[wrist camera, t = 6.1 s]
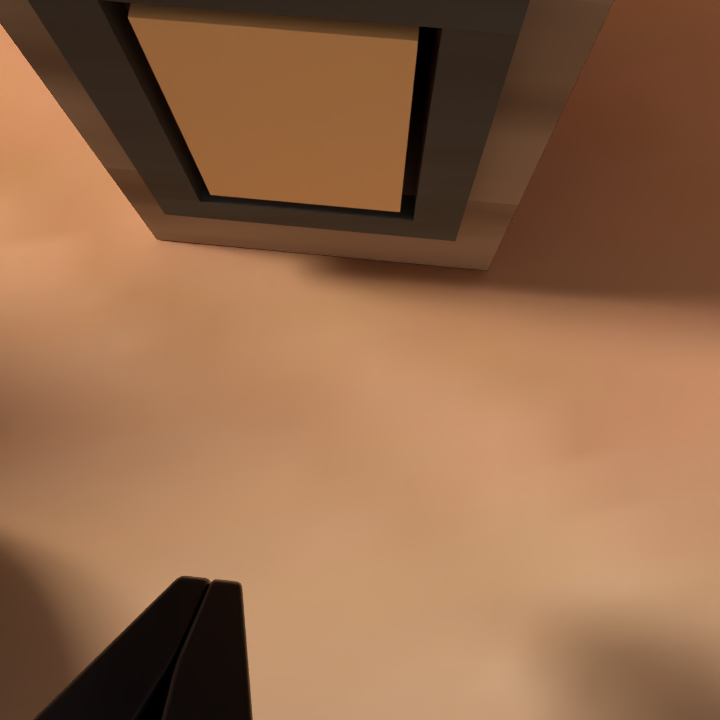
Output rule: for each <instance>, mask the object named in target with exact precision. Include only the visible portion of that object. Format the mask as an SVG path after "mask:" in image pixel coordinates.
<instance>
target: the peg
mask: <svg viewBox="0 0 720 720" xmlns="http://www.w3.org/2000/svg"><path fill="white" fill-rule="evenodd" d="M128 19H129V21H130V23H131V25H132V28H133V30H134V32H135V34H136V36H137V38H138V40H139V43H140V45H141V47H142V49H143V51H144V53H145V55H146V58H147V60H148V62H149V64H150V66H151V68H152V70H153V73H154V75H155V77H156V79H157V81H158V83H159V85H160V88H161V90H162V92H163V94H164V96H165V98H166V100H167V103H168V105H169V107H170V109H171V111H172V113H173V115H174V118H175V120H176V122H177V124H178V126H179V128H180V130H181V133H182V135H183V137H184V139H185V141H186V143H187V145H188V148H189V150H190V152H191V154H192V156H193V158H194V161H195V163H196V165H197V167H198V169H199V171H200V173H201V176H202V178H203V180H204V182H205V184H206V186H207V188H208V191H209V193H210V195H218V196H228V197H239V198H250V199H261V200H272V201H283V202H294V203H305V204H316V205H327V206H338V207H349V208H360V209H370V210H381V211H392V212H400V207H401V197H402V188H403V179H404V169H405V160H406V150H407V141H408V131H409V122H410V113H411V103H412V94H413V84H414V75H415V65H416V56H417V47H418V37H419V27H420V26H408V25H396V24H384V23H371V22H359V21H347V20H335V19H322V18H310V17H298V16H286V15H273V14H261V13H249V12H237V11H224V10H212V9H200V8H188V7H175V6H163V5H151V4H139V3H131V4H130V9H129V13H128Z"/></svg>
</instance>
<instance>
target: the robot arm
mask: <svg viewBox="0 0 720 720" xmlns="http://www.w3.org/2000/svg"><path fill="white" fill-rule="evenodd" d="M33 720H253V718H252V705H251V693H250V680H249V667H248V655H247V642H246V630H245V617H244V605H243V592H242V585H241V583H239V582H236V581H227V580H218V579H216V580H213V581H212V582H210V580H209V579H206V578H201V577H192V576H181V577H179V578H177V579H176V580H175V581H174V582H173V583H172V584H171V585H170V586H169V587H168V588H167V589H166V590H165V591H164V592H163V593H162V594H161V595H160V596H159V597H158V598H157V599H156V600H155V601H154V602H153V603H151V604H150V605H149V606H148V607H147V608H146V609H145V610H144V611H143V612H142V613H141V614H140V615H139V616H138V617H137V618H136V619H135V620H134V621H133V622H132V623H131V624H130V625H129V626H128V627H127V628H126V629H125V630H124V631H123V632H122V633H121V634H120V635H119V636H118V637H117V638H116V639H115V640H114V641H113V642H112V643H111V644H110V645H109V646H108V647H107V648H106V649H105V650H104V651H103V652H102V653H101V654H100V655H99V656H97V657H96V658H95V659H94V660H93V661H92V662H91V663H90V664H89V665H88V666H87V667H86V668H85V669H84V670H83V671H82V672H81V673H80V674H79V675H78V676H77V677H76V678H75V679H74V680H73V681H72V682H71V683H70V684H69V685H68V686H67V687H66V688H65V689H64V690H63V691H62V692H61V693H60V694H59V695H58V696H57V697H56V698H55V699H54V700H53V701H52V702H51V703H50V704H49V705H48V706H47V707H46V708H45V709H43V710H42V711H41V712H40V713H39V714H38V715H37V716H36V717H35V718H34V719H33Z"/></svg>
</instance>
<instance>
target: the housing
mask: <svg viewBox="0 0 720 720" xmlns="http://www.w3.org/2000/svg"><path fill="white" fill-rule="evenodd" d="M613 2H614V0H0V23H1V25H2V26H3V27H4V29H5V30H6V32H7V33H8V34H9V36H10V37H11V39H12V40H13V41H14V43H15V44H16V45H17V47H18V48H19V50H20V51H21V52H22V54H23V55H24V57H25V58H26V59H27V61H28V62H29V63H30V65H31V66H32V68H33V69H34V70H35V72H36V73H37V74H38V76H39V77H40V79H41V80H42V81H43V83H44V84H45V86H46V87H47V88H48V90H49V91H50V92H51V94H52V95H53V97H54V98H55V99H56V101H57V102H58V104H59V105H60V106H61V108H62V109H63V110H64V112H65V113H66V115H67V116H68V117H69V119H70V120H71V121H72V123H73V124H74V126H75V127H76V128H77V130H78V131H79V133H80V134H81V135H82V137H83V138H84V139H85V141H86V142H87V144H88V145H89V146H90V148H91V149H92V150H93V152H94V153H95V155H96V156H97V157H98V159H99V160H100V162H101V163H102V164H103V166H104V167H105V168H106V170H107V171H108V173H109V174H110V175H111V177H112V178H113V180H114V181H115V182H116V184H117V185H118V186H119V188H120V189H121V191H122V192H123V193H124V195H125V196H126V197H127V199H128V200H129V202H130V203H131V204H132V206H133V207H134V209H135V210H136V211H137V213H138V214H139V215H140V217H141V218H142V220H143V221H144V222H145V224H146V225H147V227H148V228H149V229H150V231H151V232H152V233H153V235H154V236H155V238H156V239H159V240H169V241H180V242H191V243H201V244H212V245H222V246H233V247H244V248H254V249H265V250H276V251H286V252H297V253H307V254H318V255H329V256H339V257H350V258H361V259H371V260H382V261H392V262H403V263H414V264H424V265H435V266H446V267H456V268H467V269H477V270H488V269H489V266H490V264H491V262H492V260H493V258H494V256H495V254H496V252H497V249H498V247H499V245H500V243H501V241H502V239H503V237H504V234H505V232H506V230H507V228H508V226H509V224H510V222H511V220H512V217H513V215H514V213H515V211H516V209H517V207H518V205H519V202H520V200H521V198H522V196H523V194H524V192H525V190H526V188H527V185H528V183H529V181H530V179H531V177H532V175H533V173H534V171H535V168H536V166H537V164H538V162H539V160H540V158H541V156H542V153H543V151H544V149H545V147H546V145H547V143H548V141H549V139H550V136H551V134H552V132H553V130H554V128H555V126H556V124H557V121H558V119H559V117H560V115H561V113H562V111H563V109H564V107H565V104H566V102H567V100H568V98H569V96H570V94H571V92H572V89H573V87H574V85H575V83H576V81H577V79H578V77H579V75H580V72H581V70H582V68H583V66H584V64H585V62H586V60H587V58H588V55H589V53H590V51H591V49H592V47H593V45H594V43H595V40H596V38H597V36H598V34H599V32H600V30H601V28H602V26H603V23H604V21H605V19H606V17H607V15H608V13H609V11H610V8H611V6H612V4H613ZM131 3H139V4H151V5H163V6H175V7H188V8H200V9H212V10H224V11H237V12H249V13H261V14H273V15H286V16H298V17H310V18H322V19H335V20H347V21H359V22H371V23H384V24H396V25H408V26H420V27H419V37H418V47H417V56H416V65H415V75H414V84H413V94H412V103H411V113H410V122H409V131H408V141H407V150H406V160H405V169H404V179H403V188H402V197H401V207H400V212H392V211H381V210H370V209H360V208H349V207H338V206H327V205H316V204H305V203H294V202H283V201H272V200H261V199H250V198H239V197H228V196H218V195H210V193H209V191H208V188H207V186H206V184H205V182H204V180H203V178H202V176H201V173H200V171H199V169H198V167H197V165H196V163H195V161H194V158H193V156H192V154H191V152H190V150H189V148H188V145H187V143H186V141H185V139H184V137H183V135H182V133H181V130H180V128H179V126H178V124H177V122H176V120H175V118H174V115H173V113H172V111H171V109H170V107H169V105H168V103H167V100H166V98H165V96H164V94H163V92H162V90H161V88H160V85H159V83H158V81H157V79H156V77H155V75H154V73H153V70H152V68H151V66H150V64H149V62H148V60H147V58H146V55H145V53H144V51H143V49H142V47H141V45H140V43H139V40H138V38H137V36H136V34H135V32H134V30H133V28H132V25H131V23H130V21H129V19H128V13H129V9H130V4H131Z"/></svg>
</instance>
